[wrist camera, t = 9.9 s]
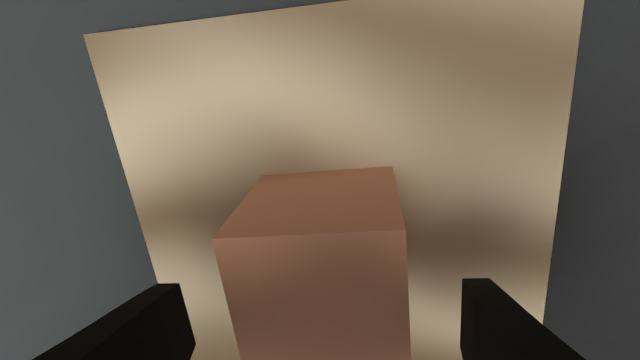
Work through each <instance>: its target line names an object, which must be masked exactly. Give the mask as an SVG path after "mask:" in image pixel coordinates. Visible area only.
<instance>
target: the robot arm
mask: <svg viewBox="0 0 640 360" xmlns="http://www.w3.org/2000/svg"><path fill="white" fill-rule="evenodd" d="M195 346H196V342H195V338H194V334H193V331H192V327H191V323H190V320H189V316H188V313H187V309H186V305H185V302H184V298H183V294H182V291H181V287H180V283H158V284H156V285H154V286H152V287H151V288H149V289H147V290H145V291H143V292H142V293H140V294H138V295H137V296H135V297H133V298H132V299H130V300H128V301H127V302H125V303H124V304H122V305H120V306H119V307H117V308H116V309H114V310H112V311H111V312H109V313H108V314H106V315H105V316H103V317H101V318H100V319H98V320H97V321H95V322H93V323H92V324H90V325H89V326H87V327H85V328H84V329H82V330H81V331H79V332H77V333H76V334H74V335H73V336H71V337H69V338H68V339H66V340H64V341H63V342H61V343H59V344H58V345H56V346H54V347H53V348H51V349H49V350H47V351H46V352H44V353H42V354H41V355H39V356H37V357H36V358H34V359H32V360H190V359H191V356H192V354H193V351H194V348H195ZM460 349H461V353H462V358H463V360H586V359H584V358H583V357H582V356H581V355H579V354H578V353H577V352H576V351H574V350H573V349H572V348H571V347H569V346H568V345H567V344H566V343H564V342H563V341H562V340H561V339H559V338H558V337H557V336H556V335H555V334H553V333H552V332H551V331H550V330H549V329H547V328H546V327H545V326H544V325H543V324H541V323H540V322H539V321H538V320H537V319H536V318H534V317H533V316H532V315H531V314H530V313H529V312H527V311H526V310H525V309H524V308H523V307H522V306H521V305H519V304H518V303H517V302H516V301H515V300H514V299H513V298H512V297H510V296H509V295H508V294H507V293H506V292H505V291H504V290H503V289H501V288H500V287H499V286H498V285H497V284H496V283H495V282H493V281H492V280H491V279H490V278H462V298H461V328H460Z"/></svg>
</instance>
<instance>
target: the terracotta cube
mask: <svg viewBox="0 0 640 360" xmlns="http://www.w3.org/2000/svg"><path fill="white" fill-rule="evenodd" d="M211 240H212V244H213V248H214V252H215V256H216V260H217V264H218V268H219V272H220V276H221V280H222V285H223V289H224V293H225V297H226V301H227V305H228V309H229V313H230V317H231V321H232V325H233V329H234V334H235V338H236V342H237V346H238V350H239V354H240V358H241V360H411V342H410V317H409V292H408V268H407V243H406V228H405V223H404V219H403V214H402V209H401V205H400V200H399V196H398V191H397V186H396V182H395V177H394V173H393V168H392V166H386V167H372V168H359V169H345V170H331V171H317V172H303V173H290V174H276V175H262V177H261V178H260V179H259V180H258V182H257V183H256V184H255V185H254V187H253V188H252V189H251V190H250V192H249V193H248V194H247V195H246V197H245V198H244V199H243V200H242V201H241V203H240V204H239V205H238V206H237V208H236V209H235V210H234V211H233V213H232V214H231V215H230V216H229V218H228V219H227V220H226V221H225V223H224V224H223V225H222V226H221V228H220V229H219V230H218V231H217V233H216V234H215V235H214V236H213V238H212V239H211Z"/></svg>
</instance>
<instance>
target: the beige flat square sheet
mask: <svg viewBox="0 0 640 360" xmlns="http://www.w3.org/2000/svg"><path fill="white" fill-rule="evenodd" d="M583 6H584V0H346V1H338V2H330V3H323V4H315V5H307V6H300V7H292V8H284V9H277V10H269V11H261V12H254V13H246V14H238V15H230V16H223V17H215V18H207V19H200V20H192V21H184V22H177V23H169V24H161V25H153V26H146V27H138V28H130V29H123V30H115V31H107V32H100V33H92V34H84V35H83V36H84V39H85V42H86V46H87V49H88V52H89V56H90V59H91V62H92V66H93V69H94V72H95V76H96V79H97V82H98V86H99V89H100V92H101V96H102V99H103V102H104V105H105V109H106V112H107V115H108V119H109V122H110V125H111V129H112V132H113V135H114V139H115V142H116V145H117V149H118V152H119V155H120V159H121V162H122V165H123V168H124V172H125V175H126V178H127V182H128V185H129V188H130V192H131V195H132V198H133V202H134V205H135V208H136V212H137V215H138V218H139V222H140V225H141V228H142V231H143V235H144V238H145V241H146V245H147V248H148V251H149V255H150V258H151V261H152V265H153V268H154V271H155V275H156V278H157V281H158V283H180V287H181V291H182V294H183V298H184V302H185V305H186V309H187V313H188V316H189V320H190V323H191V327H192V331H193V334H194V338H195V342H196V346H195V348H194V351H193V354H192V356H191V359H190V360H241V358H240V354H239V350H238V346H237V342H236V338H235V334H234V329H233V325H232V321H231V317H230V313H229V309H228V305H227V301H226V297H225V293H224V289H223V285H222V280H221V276H220V272H219V268H218V264H217V260H216V256H215V252H214V248H213V244H212V240H211V239H212V238H213V236H214V235H215V234H216V233H217V231H218V230H219V229H220V228H221V226H222V225H223V224H224V223H225V221H226V220H227V219H228V218H229V216H230V215H231V214H232V213H233V211H234V210H235V209H236V208H237V206H238V205H239V204H240V203H241V201H242V200H243V199H244V198H245V197H246V195H247V194H248V193H249V192H250V190H251V189H252V188H253V187H254V185H255V184H256V183H257V182H258V180H259V179H260V178H261V177H262V175H276V174H290V173H303V172H317V171H331V170H345V169H359V168H372V167H386V166H392V168H393V173H394V177H395V182H396V186H397V191H398V196H399V200H400V205H401V209H402V214H403V219H404V223H405V228H406V243H407V268H408V292H409V317H410V342H411V360H463V358H462V353H461V349H460V328H461V298H462V278H490V279H491V280H492V281H493V282H495V283H496V284H497V285H498V286H499V287H500V288H501V289H503V290H504V291H505V292H506V293H507V294H508V295H509V296H510V297H512V298H513V299H514V300H515V301H516V302H517V303H518V304H519V305H521V306H522V307H523V308H524V309H525V310H526V311H527V312H529V313H530V314H531V315H532V316H533V317H534V318H536V319H537V320H538V321H539V322H540V323H541V324H543V316H544V309H545V301H546V293H547V285H548V278H549V270H550V262H551V254H552V247H553V239H554V231H555V223H556V216H557V208H558V200H559V192H560V185H561V177H562V169H563V161H564V153H565V146H566V138H567V130H568V122H569V115H570V107H571V99H572V91H573V84H574V76H575V68H576V60H577V53H578V45H579V37H580V29H581V22H582V14H583Z"/></svg>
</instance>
